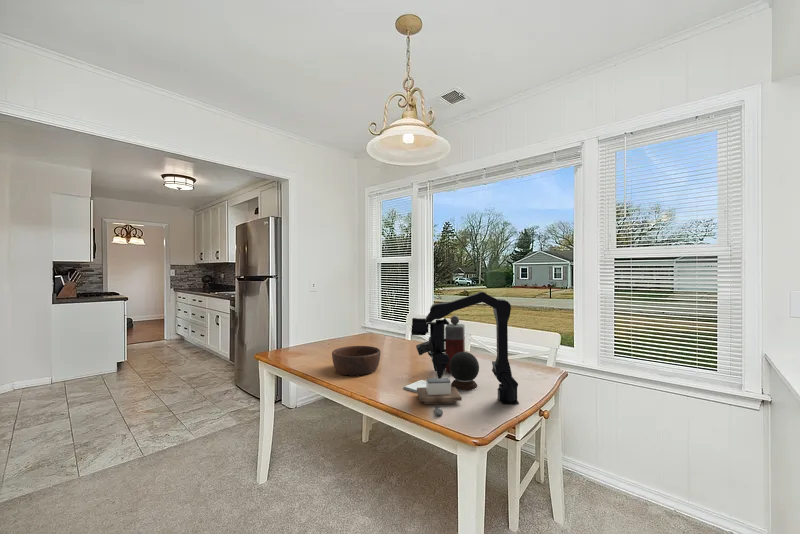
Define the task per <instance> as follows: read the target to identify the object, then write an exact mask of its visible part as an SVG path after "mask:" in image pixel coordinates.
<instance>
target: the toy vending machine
mask: <svg viewBox="0 0 800 534" xmlns="http://www.w3.org/2000/svg"><path fill="white" fill-rule="evenodd" d="M459 322H460V318H459V316H457V315H452V316H451V318H450V323H449V325H446V326H445V339H446V342H445V349H446V352H444V353H446V354H447V355H448V356H449V362H448V364H447V366H446V368H445V373H446V374H451V373H450V370H449V363H450V360H451V358H452V357H453V356H454V355H455V354H456V353H459V352H466V351H465V350H466V348H465V347H466V343H465V339H466V337H465V335H466V334H465V330H466V329H465V324H463V323H459Z"/></svg>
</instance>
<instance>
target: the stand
mask: <svg viewBox="0 0 800 534" xmlns="http://www.w3.org/2000/svg"><path fill="white" fill-rule="evenodd" d="M416 394H417V396H418V400H419V402H422V403H423V404H424V405H441V404H442V405H444V404H445V405H446V404H447V405H449V404H452V405H453V404H456V402H457V401H462V396H461V393H460V392H459V390H458V389H456V387H452V386H451V394H443V395H428V393H427V391H426V387H425V388H417V393H416Z"/></svg>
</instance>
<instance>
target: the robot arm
mask: <svg viewBox="0 0 800 534" xmlns="http://www.w3.org/2000/svg"><path fill="white" fill-rule="evenodd" d="M480 303H484V304H485V305H488V306H489V307H491V308H492V309H493V311H492V312H493V315H494V318H495V323H496V326H495V327H496V330H495V331H496V359H495V361H494V360H492V361H491V363H492V369H491V371H492V373H493V375H494V377H495V378H496V379H497V381H498V388H497V399H498V400H499V402H500V403H501V404H502V405H517V404H520V401H518V386H519V382H517V380H516V379H515V378H514V377H513V374H512V370H511V365H510V361H509V343H508V341H509V339H508V332H509V331H508V322H509V320H510V317H511V316H510V315H511V312H512V305H511V303H510V302H509V301H508V300H505V299H502V298H496V297H494V296H491V295H489V294H487V293H486V292H484V291H478V292H477V293H473V294H470V295H468V296H465V297H461V298H458V299H455V300H451V301H444V302H443V301H442V302H436V303H435V302H434V303H433V304H431V306H430V307H429V313H428V314H427V315H426V316H425V318H417V317H413V318H412V319H411V321H412V322H411V336H426V334H429V333H430V334H429V337H428V340H427V341H424V342H421V343H419V344H416V346H415V347H416V350H417V352H418V353H417V354H418V355H419V356H422V355H424V354H426V353H427V354H428V356H429V357H430V358H431V362H432V365H433V369H434V372H436V375H437V376H436V377H437V378H438V379H440V378H443V375H444V372H445V371H446V366H447V364H448V362H449V356H448V355H447V354H446V353H445V352H446V349H445V342H446V339H445V327H446V326H447V325H449V324H450V321H448V319H447V318H446V317H447V316H448V315H450V314H452V313H453V312H456V311H458V310H462V309H465V308H467V307H470V306H474V305H478V304H480ZM445 325H446V326H445Z"/></svg>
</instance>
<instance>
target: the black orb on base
mask: <svg viewBox="0 0 800 534" xmlns="http://www.w3.org/2000/svg"><path fill="white" fill-rule="evenodd" d="M449 370H450V373H449V374H450V375H451V376H452V378H453V380H452V381H451V387H456V389H457V390H458V391H459V390H460V391H471V390H472V389H473V390H475V388H476V389H477V387H478V384H477V382H476V381H475V379H476V378H477V377H478V374H479V372H480V364H479V361H478V359H477V358H476V356H475V355H473V353H470V352H468V351H465V352H459V353H456V354H455V355H454V356H453V357H452V358H451V360H450V363H449Z"/></svg>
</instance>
